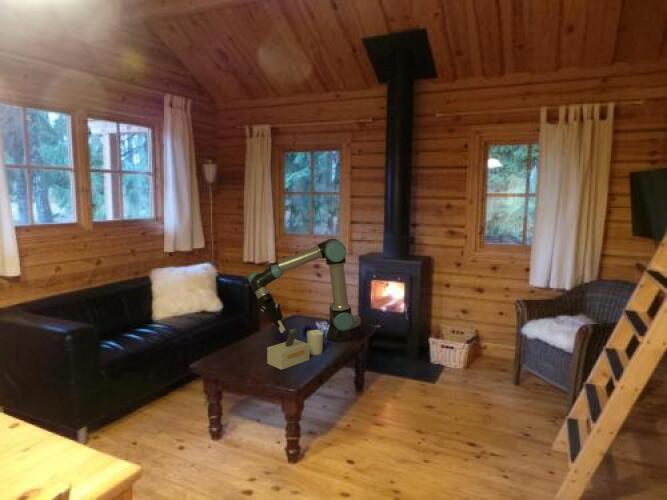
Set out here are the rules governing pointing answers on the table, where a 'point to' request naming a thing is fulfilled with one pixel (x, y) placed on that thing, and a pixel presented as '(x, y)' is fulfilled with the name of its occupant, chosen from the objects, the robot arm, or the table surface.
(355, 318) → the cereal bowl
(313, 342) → the candle holder
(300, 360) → the beige rectangular box
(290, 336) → the lever
